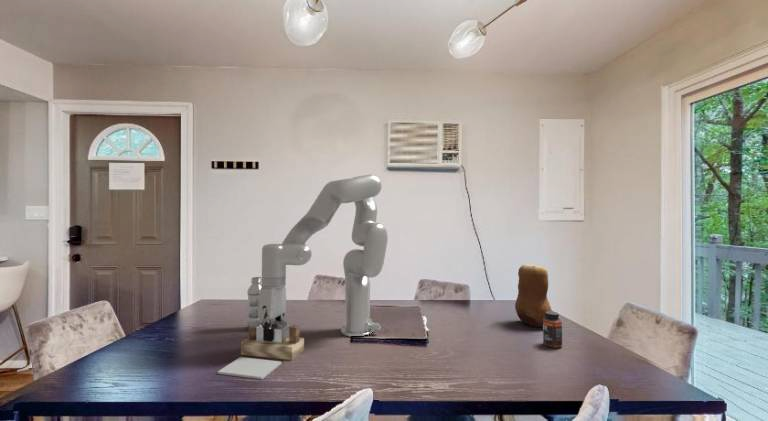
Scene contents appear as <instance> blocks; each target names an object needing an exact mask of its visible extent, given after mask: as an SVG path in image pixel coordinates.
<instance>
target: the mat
mask: <svg viewBox="0 0 768 421" xmlns="http://www.w3.org/2000/svg"><path fill="white" fill-rule="evenodd" d="M280 365H282V361H280V360H270V359H263V358H262V359H261V358H254V357H253V358H251V357H243V356H239V357H238V358H236V359H235V360H233V361H232V362H231V363H229V364H227V365H226V366H224V367H222V368H221V369H219V370H218V371H217V375H224V376H225V375H226V376H234V377H241V378H247V379H257V380H263V379H264V378H265V377H267V376H268V375H269V374H270V373H272V372H273V371H274V370H276V369H277V368H278V367H279V366H280Z"/></svg>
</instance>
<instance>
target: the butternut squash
mask: <svg viewBox="0 0 768 421" xmlns="http://www.w3.org/2000/svg"><path fill="white" fill-rule="evenodd" d="M517 275H518V282H517V283H518V284H517V292H518V294H517V297H516V301H515V304H514V309H515V311H516V315H517V317H518V318H519V320H520V321H521V322H522V323H524V324H527V325H529V326H530V327H535V328H538V327H543V319H544V318H545V317H546V312H547V311H552V307H551V304H550V301H549V298H548V292H549V291H548V290H549V274H548V270H547V269H546V268H545V267H544V266H540V265H536V264H534V263H533V264H532V263H527V264H525V263H524V264H522V265H520V267H519V269H518V272H517ZM552 312H553V311H552Z"/></svg>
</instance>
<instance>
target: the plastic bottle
mask: <svg viewBox="0 0 768 421" xmlns="http://www.w3.org/2000/svg"><path fill="white" fill-rule="evenodd" d="M250 282H251V285H250V286H249V287H248V289H247V298H248V316H247V321H246V324H247V328H248V330H249V329H250V328H253V327H258V326H260V325H261V324H260V323H259V318H258V305H259V295H260V290H261V288H262V276H255V277H251V281H250Z"/></svg>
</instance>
